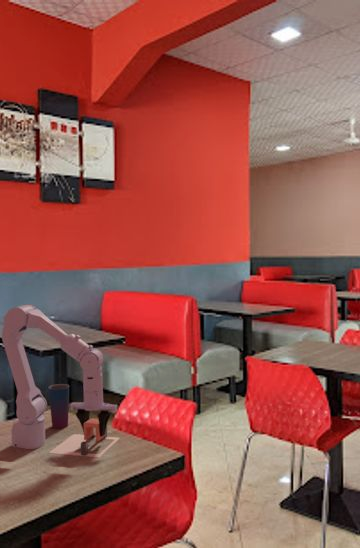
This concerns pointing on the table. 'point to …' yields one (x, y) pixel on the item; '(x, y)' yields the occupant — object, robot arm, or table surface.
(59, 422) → the cup
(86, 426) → the orange u-shaped block
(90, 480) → the table surface
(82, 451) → the pink flat square base
